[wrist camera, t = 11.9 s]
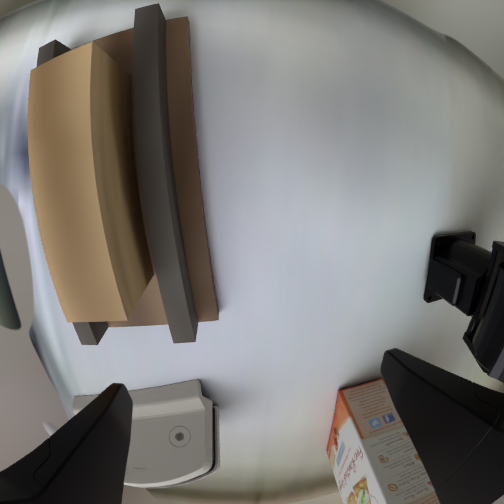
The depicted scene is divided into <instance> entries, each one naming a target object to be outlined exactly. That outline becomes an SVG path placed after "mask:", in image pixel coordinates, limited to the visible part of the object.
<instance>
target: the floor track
mask: <svg viewBox="0 0 504 504" xmlns="http://www.w3.org/2000/svg"><path fill="white" fill-rule="evenodd" d="M92 42H94V43H95V44H96V45H97V46H98V47H100V48H101V49H102V50H103V51H104V52H105V53H107V54H108V55H109V56H110V57H111V58H112V59H113V60H115V61H116V62H117V63H118V64H119V65H120V66H121V67H123V68H124V69H125V70H126V71H127V72H128V73H129V74H130V100H131V120H132V135H133V146H134V157H135V166H136V175H137V183H138V190H139V197H140V204H141V210H142V217H143V223H144V228H145V234H146V239H147V245H148V250H149V255H150V259H151V264H152V269H153V273H154V276H153V277H152V279H151V281H150V282H149V284H148V286H147V288H146V289H145V291H144V293H143V294H142V296H141V298H140V299H139V301H138V303H137V305H136V306H135V308H134V310H133V312H132V313H131V315H130V317H129V319H128V321H104V322H72V323H73V325H74V328H75V330H76V332H77V335H78V337H79V340H80V342H81V344H82V345H98V343H99V342H100V340H101V338H102V337H103V335H104V334H105V332H106V330H107V329H108V327H128V326H149V325H166V324H168V325H169V329H170V332H171V336H172V339H173V343H186V342H196V334H197V327H198V322H204V321H215V320H218V319H219V312H218V306H217V300H216V294H215V287H214V281H213V274H212V268H211V261H210V254H209V247H208V239H207V232H206V224H205V216H204V208H203V200H202V191H201V182H200V173H199V163H198V153H197V143H196V132H195V120H194V107H193V94H192V78H191V60H190V37H189V21H188V17H181V18H175V19H170V20H165V17H164V15H163V12H162V10H161V8H160V5H159V3H158V4H154V5H150V6H145V7H142V8H138V9H135V20H134V28H132V29H128V30H125V31H121V32H118V33H115V34H112V35H109V36H106V37H103V38H100V39H97V40H94V41H92ZM89 43H90V42H89ZM84 45H85V44H84ZM79 47H80V46H79ZM77 48H78V47H77ZM74 49H75V48H74ZM72 50H73V49H72ZM68 51H71V49H69V48H68V47H66V46H65V45H63V44H62V43H60V42H59V41H57V40H54V41H52V42H50V43H48V44H46V45H44V46H42V47H40V48H39V53H38V60H37V67H38V66H40V65H42V64H44V63H45V62H47V61H49V60H51V59H53V58H55V57H58V56H60V55H62V54H64V53H66V52H68Z"/></svg>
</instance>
